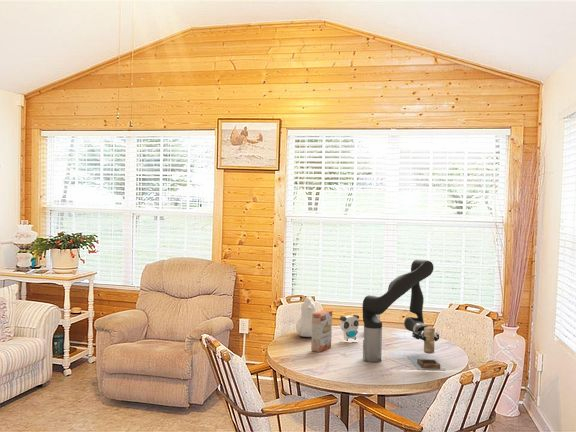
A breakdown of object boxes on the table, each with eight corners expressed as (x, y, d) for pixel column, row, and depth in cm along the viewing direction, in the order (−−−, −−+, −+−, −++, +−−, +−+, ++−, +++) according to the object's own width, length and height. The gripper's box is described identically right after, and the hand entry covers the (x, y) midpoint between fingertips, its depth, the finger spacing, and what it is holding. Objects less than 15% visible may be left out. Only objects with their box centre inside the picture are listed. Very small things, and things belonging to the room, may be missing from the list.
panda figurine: (346, 344, 311) (347, 318, 311) (335, 339, 321) (336, 314, 321) (363, 341, 317) (363, 316, 317) (351, 337, 327) (352, 313, 327)
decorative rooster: (319, 340, 318) (320, 298, 318) (293, 339, 321) (294, 297, 321) (324, 331, 343) (324, 292, 343) (299, 329, 346) (300, 291, 345)
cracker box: (320, 352, 291) (321, 314, 291) (310, 351, 294) (311, 313, 294) (332, 347, 303) (332, 310, 303) (322, 345, 306) (323, 309, 306)
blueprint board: (417, 370, 262) (417, 368, 262) (406, 357, 284) (406, 356, 284) (445, 370, 263) (445, 368, 263) (432, 358, 285) (432, 356, 285)
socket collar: (421, 368, 263) (422, 364, 263) (417, 363, 272) (417, 359, 272) (440, 368, 263) (440, 364, 263) (434, 363, 272) (435, 359, 272)
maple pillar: (425, 353, 265) (425, 329, 265) (422, 350, 270) (423, 327, 270) (435, 353, 265) (435, 329, 265) (432, 350, 270) (433, 327, 270)
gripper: (408, 323, 282) (416, 331, 265) (435, 324, 282) (445, 331, 265) (408, 338, 282) (416, 346, 265) (435, 338, 282) (445, 346, 265)
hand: (430, 339), depth 265 cm, fingers closed on maple pillar, 5 cm apart
